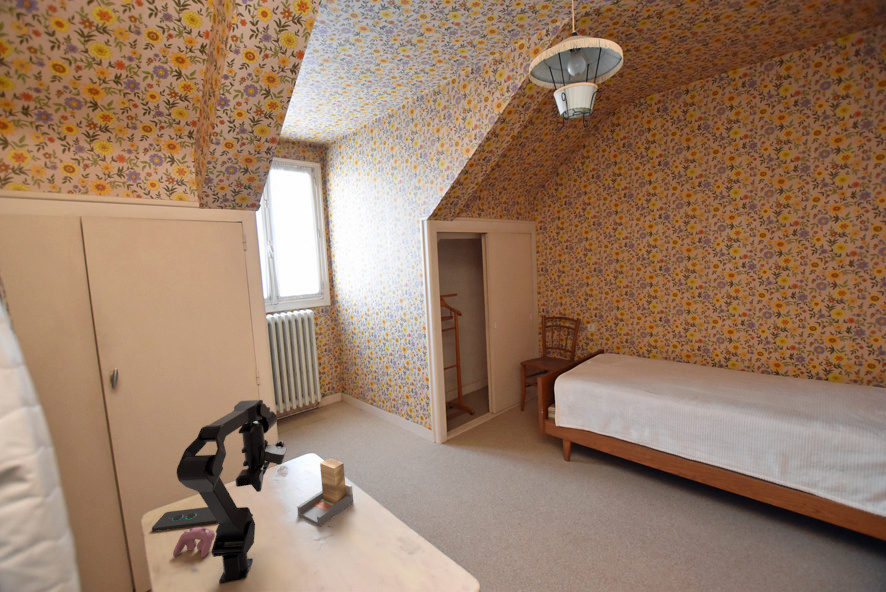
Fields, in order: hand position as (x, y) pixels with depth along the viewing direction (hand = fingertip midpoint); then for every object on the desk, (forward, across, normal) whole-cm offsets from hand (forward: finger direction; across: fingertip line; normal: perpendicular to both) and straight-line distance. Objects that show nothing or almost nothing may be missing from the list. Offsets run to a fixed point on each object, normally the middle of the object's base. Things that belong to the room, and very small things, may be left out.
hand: (259, 491), depth 117 cm
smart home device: (+14, +13, +25) cm, 31 cm away
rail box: (+13, +6, -18) cm, 23 cm away
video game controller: (+13, -3, +18) cm, 22 cm away
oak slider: (+11, +9, -21) cm, 25 cm away
